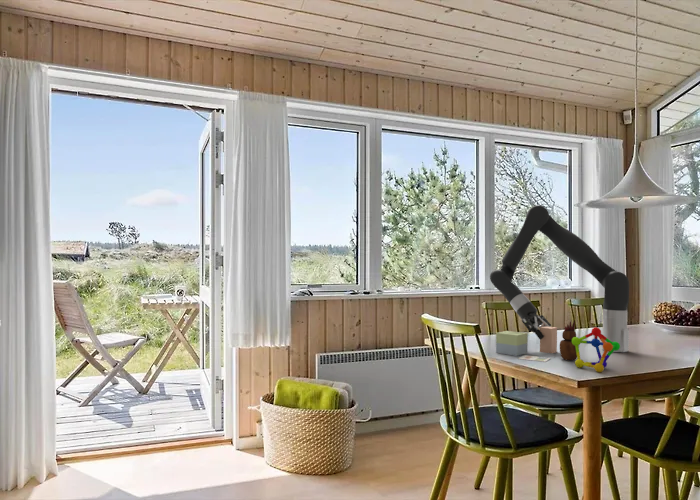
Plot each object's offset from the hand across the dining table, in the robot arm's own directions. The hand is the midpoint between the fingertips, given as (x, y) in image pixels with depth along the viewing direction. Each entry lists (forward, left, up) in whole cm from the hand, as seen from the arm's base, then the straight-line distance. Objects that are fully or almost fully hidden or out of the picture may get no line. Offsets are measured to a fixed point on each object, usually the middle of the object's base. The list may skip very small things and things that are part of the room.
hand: (547, 337), depth 229 cm
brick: (0, 0, -6) cm, 6 cm away
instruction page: (-3, +19, -6) cm, 20 cm away
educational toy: (-26, +20, -6) cm, 34 cm away
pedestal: (+9, +14, -6) cm, 18 cm away
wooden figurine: (-13, +11, -6) cm, 18 cm away
